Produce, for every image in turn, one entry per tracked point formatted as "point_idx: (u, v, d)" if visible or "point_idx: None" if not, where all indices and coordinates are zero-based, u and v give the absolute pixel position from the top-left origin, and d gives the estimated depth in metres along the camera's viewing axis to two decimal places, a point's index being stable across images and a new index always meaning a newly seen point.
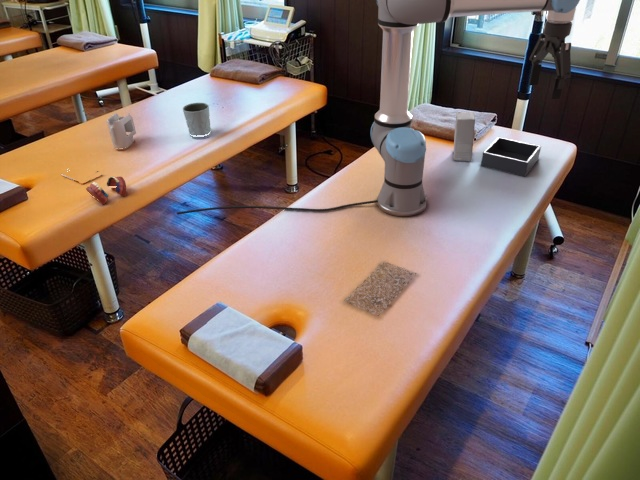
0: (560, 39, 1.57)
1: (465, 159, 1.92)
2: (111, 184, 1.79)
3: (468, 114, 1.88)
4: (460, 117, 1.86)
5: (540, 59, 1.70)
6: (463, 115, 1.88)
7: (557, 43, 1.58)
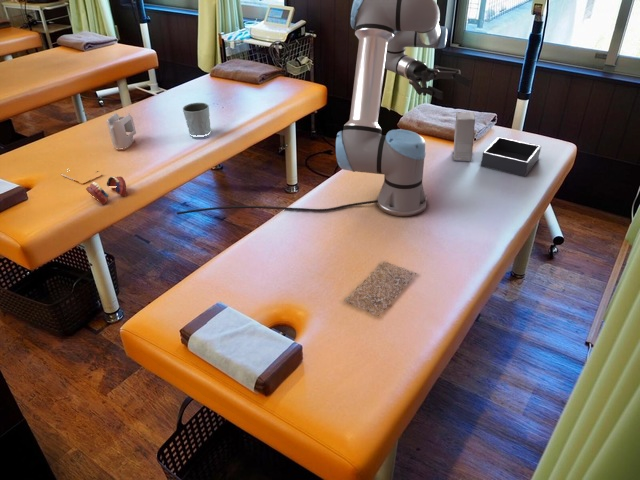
0: None
1: (465, 159, 1.92)
2: (111, 184, 1.79)
3: (468, 114, 1.88)
4: (460, 117, 1.86)
5: None
6: (463, 114, 1.88)
7: (430, 68, 1.94)
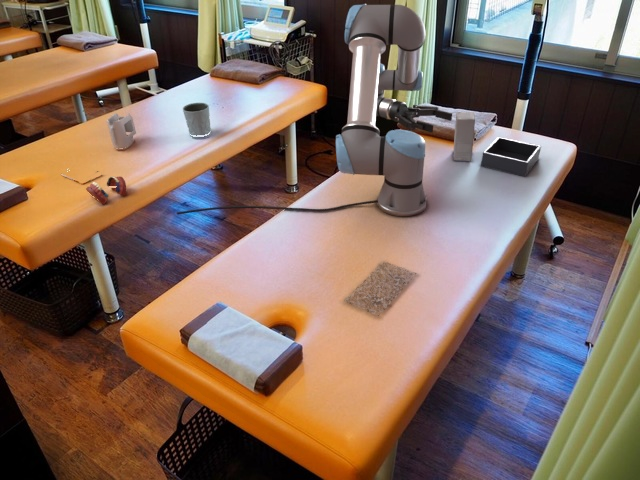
0: None
1: (465, 159, 1.92)
2: (111, 184, 1.79)
3: (468, 114, 1.88)
4: (460, 117, 1.86)
5: None
6: (463, 114, 1.88)
7: None
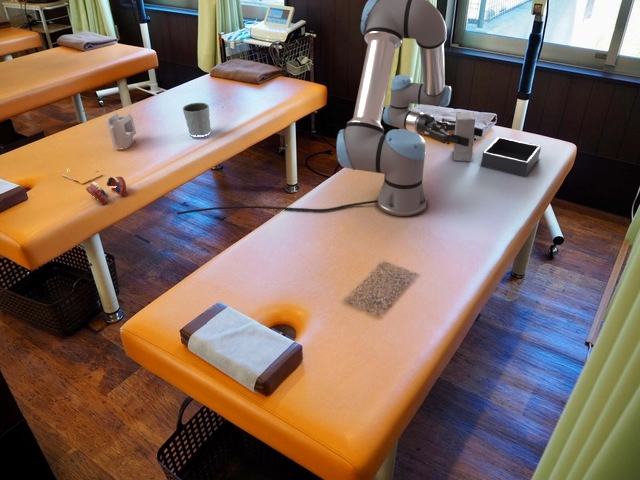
0: None
1: (465, 159, 1.92)
2: (111, 184, 1.79)
3: (468, 114, 1.88)
4: (460, 117, 1.86)
5: None
6: (463, 114, 1.88)
7: None
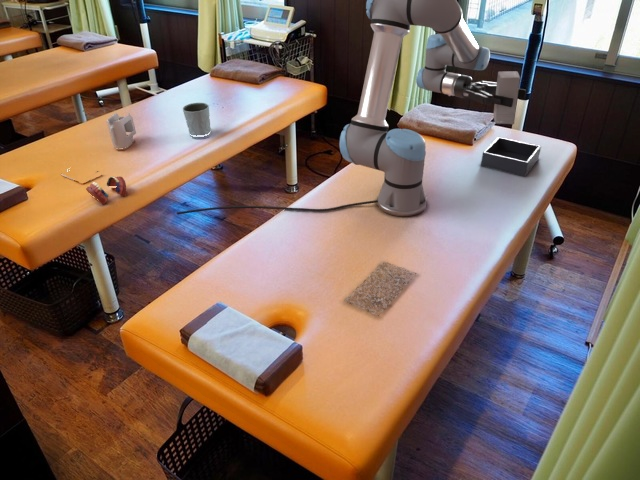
0: None
1: (507, 122, 1.79)
2: (111, 184, 1.79)
3: (511, 73, 1.75)
4: (503, 76, 1.73)
5: None
6: (506, 73, 1.75)
7: None
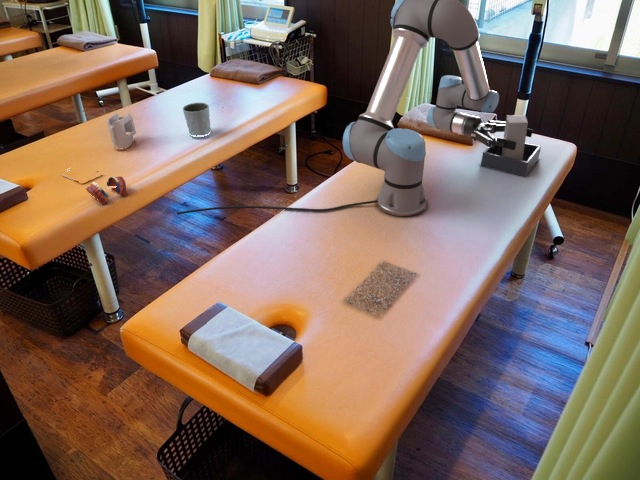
0: None
1: None
2: (111, 184, 1.79)
3: (519, 117, 1.82)
4: (512, 120, 1.80)
5: None
6: (515, 118, 1.82)
7: None
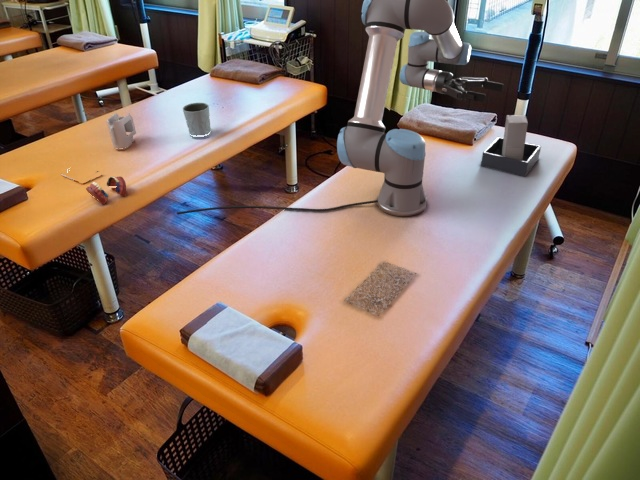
0: None
1: None
2: (111, 184, 1.79)
3: (519, 117, 1.82)
4: (512, 120, 1.80)
5: None
6: (515, 118, 1.82)
7: None
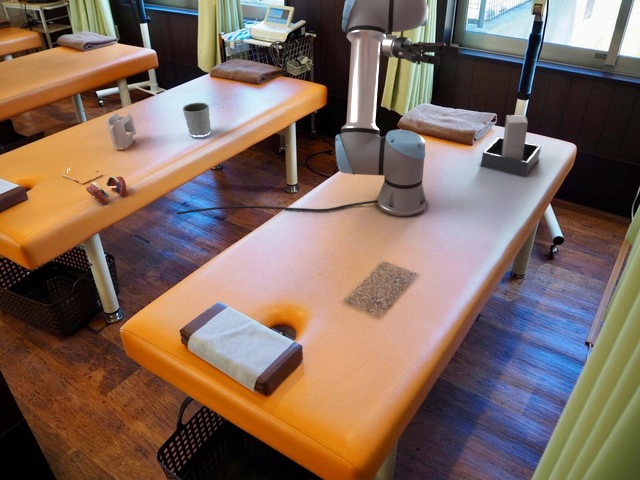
0: None
1: None
2: (111, 184, 1.79)
3: (519, 117, 1.82)
4: (512, 120, 1.80)
5: None
6: (515, 118, 1.82)
7: None
